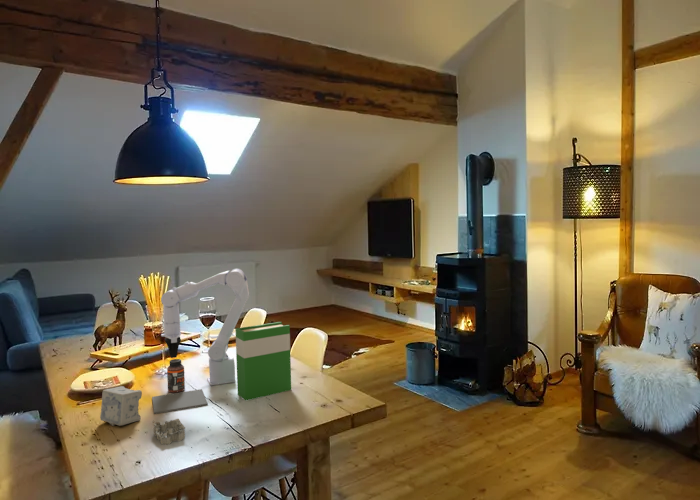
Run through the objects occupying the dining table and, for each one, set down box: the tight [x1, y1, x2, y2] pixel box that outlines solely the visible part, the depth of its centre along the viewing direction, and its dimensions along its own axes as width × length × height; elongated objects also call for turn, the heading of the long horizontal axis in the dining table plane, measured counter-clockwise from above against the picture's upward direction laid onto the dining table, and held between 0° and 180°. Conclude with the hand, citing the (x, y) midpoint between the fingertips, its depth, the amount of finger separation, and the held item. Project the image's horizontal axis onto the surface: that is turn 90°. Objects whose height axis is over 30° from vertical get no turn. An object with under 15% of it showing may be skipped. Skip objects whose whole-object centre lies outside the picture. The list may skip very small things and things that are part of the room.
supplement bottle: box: [166, 358, 186, 394], centre depth 183 cm, size 6×6×11 cm
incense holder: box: [99, 385, 143, 427], centre depth 157 cm, size 10×8×10 cm
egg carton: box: [152, 418, 186, 445], centre depth 146 cm, size 11×8×4 cm
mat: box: [151, 388, 209, 415], centre depth 172 cm, size 17×15×1 cm
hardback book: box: [234, 321, 292, 402], centre depth 180 cm, size 18×7×24 cm, turn 124°
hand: (173, 357), depth 190 cm, fingers closed
